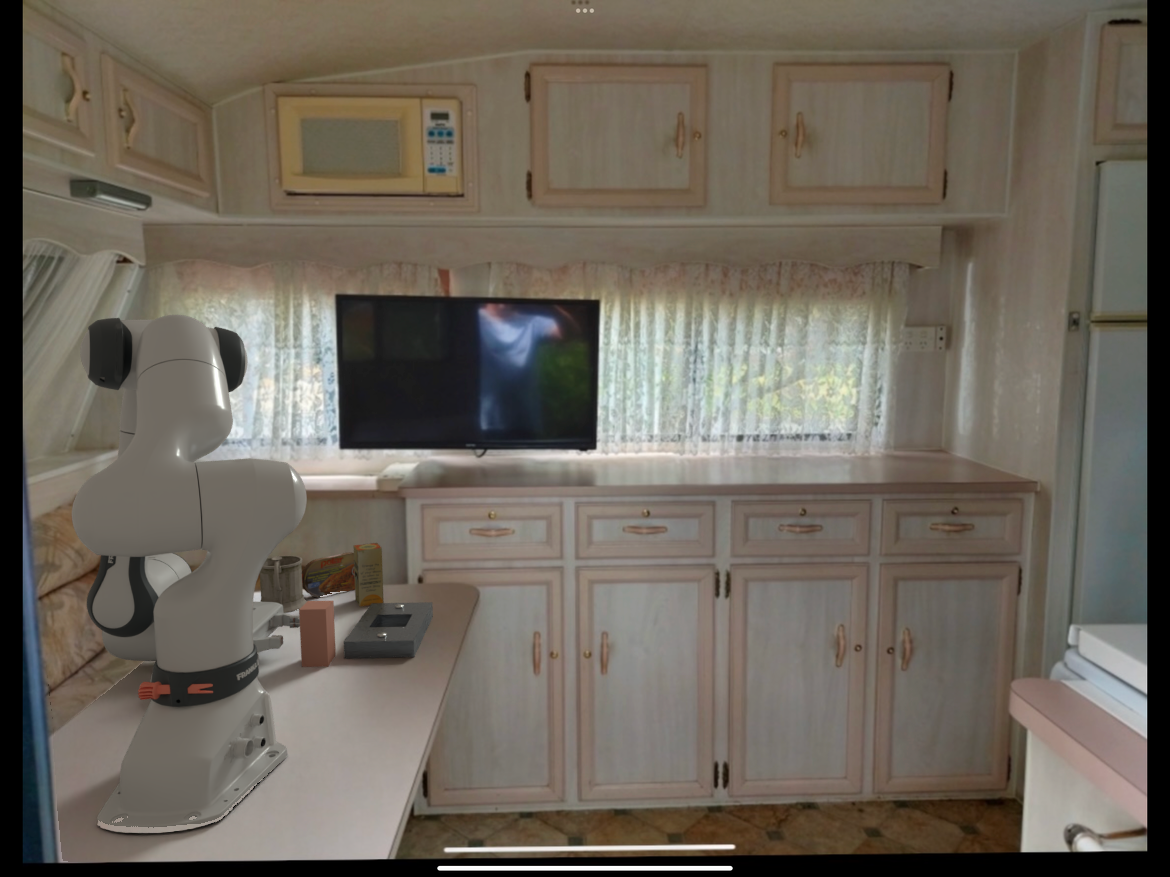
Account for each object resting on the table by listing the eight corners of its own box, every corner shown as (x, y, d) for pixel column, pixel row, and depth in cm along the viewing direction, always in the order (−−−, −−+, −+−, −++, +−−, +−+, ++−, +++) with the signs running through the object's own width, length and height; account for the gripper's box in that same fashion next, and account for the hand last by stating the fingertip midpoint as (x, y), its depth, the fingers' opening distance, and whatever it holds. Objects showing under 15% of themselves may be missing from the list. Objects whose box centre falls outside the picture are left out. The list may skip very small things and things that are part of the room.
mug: (259, 600, 159) (257, 546, 158) (308, 596, 162) (306, 542, 161) (251, 624, 145) (248, 564, 144) (304, 618, 148) (302, 560, 147)
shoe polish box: (378, 596, 162) (377, 542, 160) (383, 603, 157) (381, 548, 156) (355, 600, 159) (353, 545, 158) (359, 606, 155) (357, 550, 154)
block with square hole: (414, 657, 129) (413, 638, 129) (344, 658, 129) (343, 640, 128) (432, 616, 149) (432, 600, 149) (372, 617, 149) (371, 601, 148)
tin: (305, 601, 159) (303, 563, 158) (299, 598, 161) (297, 560, 160) (371, 586, 169) (369, 550, 168) (364, 583, 171) (363, 547, 170)
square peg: (328, 666, 125) (325, 609, 124) (301, 667, 125) (299, 609, 124) (335, 656, 130) (333, 600, 129) (310, 656, 130) (307, 600, 128)
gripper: (177, 638, 115) (267, 636, 116) (233, 596, 136) (310, 594, 136) (179, 677, 116) (269, 674, 117) (235, 629, 136) (311, 627, 137)
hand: (291, 631), depth 127 cm, fingers open, 8 cm apart
